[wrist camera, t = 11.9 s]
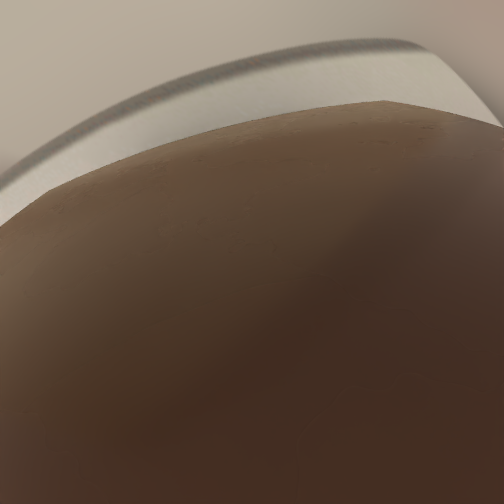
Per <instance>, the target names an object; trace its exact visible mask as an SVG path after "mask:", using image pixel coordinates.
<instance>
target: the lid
mask: <svg viewBox="0 0 504 504" xmlns="http://www.w3.org/2000/svg"><path fill="white" fill-rule="evenodd" d="M0 504H504V128H502V127H499V126H496V125H492V124H489V123H486V122H483V121H479V120H476V119H472V118H468V117H464V116H461V115H457V114H453V113H448V112H444V111H440V110H435V109H430V108H425V107H420V106H415V105H409V104H403V103H397V102H390V101H373V102H362V103H353V104H345V105H337V106H329V107H322V108H316V109H310V110H304V111H298V112H292V113H287V114H281V115H276V116H271V117H266V118H262V119H257V120H253V121H248V122H244V123H240V124H235V125H231V126H227V127H223V128H220V129H216V130H212V131H208V132H205V133H201V134H198V135H194V136H191V137H187V138H184V139H181V140H177V141H174V142H171V143H168V144H165V145H162V146H159V147H156V148H153V149H150V150H147V151H144V152H141V153H138V154H135V155H133V156H130V157H127V158H125V159H122V160H119V161H117V162H114V163H111V164H109V165H106V166H104V167H101V168H99V169H96V170H94V171H92V172H89V173H87V174H85V175H82V176H80V177H78V178H75V179H73V180H71V181H69V182H66V183H64V184H62V185H60V186H58V187H56V188H54V189H51V190H49V191H48V192H46V193H45V194H43V195H42V196H41V197H39V198H38V199H36V200H35V201H34V202H32V203H31V204H29V205H28V206H27V207H25V208H24V209H23V210H21V211H20V212H19V213H17V214H16V215H15V216H13V217H12V218H11V219H10V220H8V221H7V222H6V223H4V224H3V225H2V226H1V227H0Z"/></svg>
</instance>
